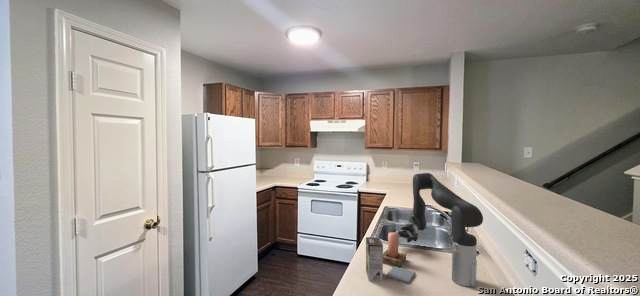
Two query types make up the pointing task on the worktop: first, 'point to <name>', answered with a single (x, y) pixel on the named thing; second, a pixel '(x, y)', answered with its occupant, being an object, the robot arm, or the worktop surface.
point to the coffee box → (374, 259)
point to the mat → (400, 274)
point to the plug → (393, 245)
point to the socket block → (393, 261)
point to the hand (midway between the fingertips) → (399, 238)
